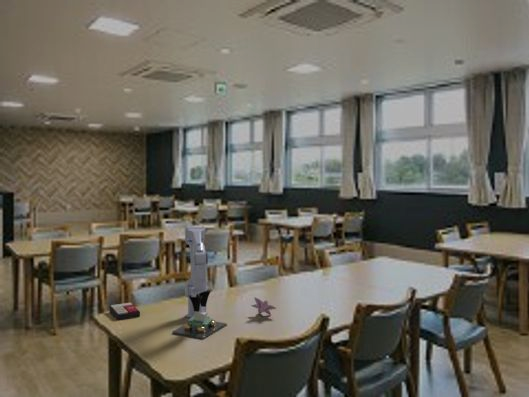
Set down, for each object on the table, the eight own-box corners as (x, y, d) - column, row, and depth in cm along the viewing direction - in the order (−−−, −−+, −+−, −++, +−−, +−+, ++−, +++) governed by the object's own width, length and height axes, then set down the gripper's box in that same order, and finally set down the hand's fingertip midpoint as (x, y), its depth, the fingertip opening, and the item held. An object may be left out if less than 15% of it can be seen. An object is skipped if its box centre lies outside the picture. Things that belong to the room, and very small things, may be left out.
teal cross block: (195, 315, 209) (196, 306, 209) (213, 319, 207) (214, 310, 207) (185, 323, 199) (186, 314, 198) (204, 328, 197) (205, 318, 196)
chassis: (197, 320, 215) (197, 312, 215) (226, 325, 209) (226, 317, 209) (172, 333, 197) (172, 324, 197) (203, 339, 191) (203, 330, 190)
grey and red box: (117, 313, 214) (109, 304, 227) (117, 322, 215) (109, 312, 227) (140, 310, 220) (131, 301, 233) (140, 318, 221) (131, 309, 233)
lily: (278, 321, 219) (280, 301, 224) (260, 315, 212) (262, 295, 217) (261, 323, 227) (263, 304, 232) (244, 318, 221) (246, 298, 225)
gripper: (198, 274, 210) (198, 303, 211) (184, 281, 196) (184, 312, 197) (212, 276, 208) (212, 305, 209) (199, 283, 194) (199, 314, 195)
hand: (200, 308), depth 203 cm, fingers open, 7 cm apart
